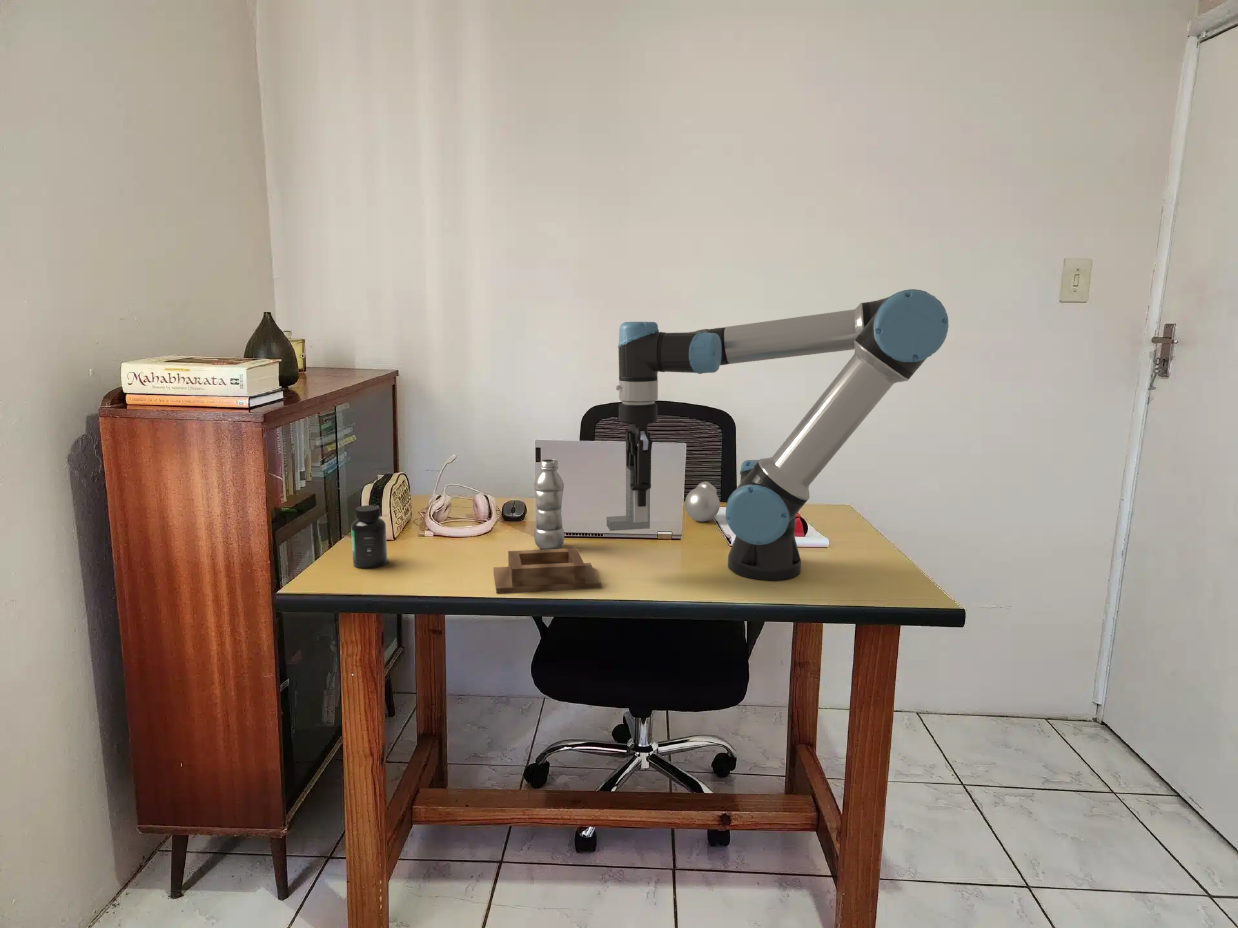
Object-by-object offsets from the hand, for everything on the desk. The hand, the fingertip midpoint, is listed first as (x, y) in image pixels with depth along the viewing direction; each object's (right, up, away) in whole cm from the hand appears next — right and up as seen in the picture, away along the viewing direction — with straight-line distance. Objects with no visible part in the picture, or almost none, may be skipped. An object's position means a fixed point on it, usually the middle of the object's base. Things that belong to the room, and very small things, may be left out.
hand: (637, 518), depth 160 cm
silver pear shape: (+17, -4, +43) cm, 47 cm away
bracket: (-2, -2, 0) cm, 3 cm away
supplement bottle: (-56, -10, +7) cm, 57 cm away
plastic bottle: (-19, -8, +19) cm, 28 cm away
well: (-18, -12, -1) cm, 22 cm away
